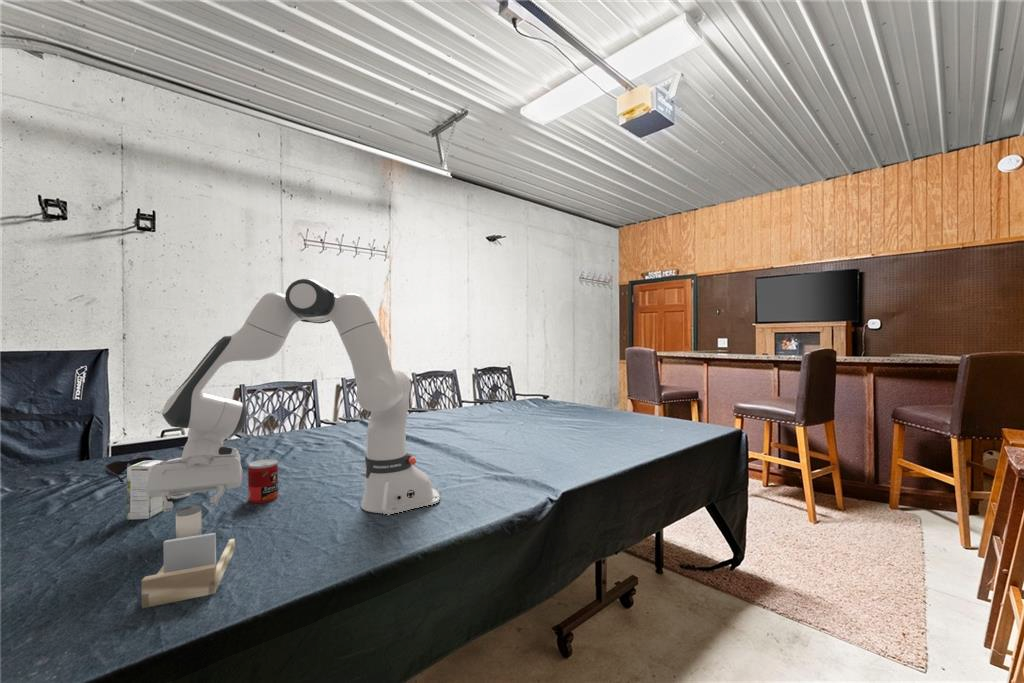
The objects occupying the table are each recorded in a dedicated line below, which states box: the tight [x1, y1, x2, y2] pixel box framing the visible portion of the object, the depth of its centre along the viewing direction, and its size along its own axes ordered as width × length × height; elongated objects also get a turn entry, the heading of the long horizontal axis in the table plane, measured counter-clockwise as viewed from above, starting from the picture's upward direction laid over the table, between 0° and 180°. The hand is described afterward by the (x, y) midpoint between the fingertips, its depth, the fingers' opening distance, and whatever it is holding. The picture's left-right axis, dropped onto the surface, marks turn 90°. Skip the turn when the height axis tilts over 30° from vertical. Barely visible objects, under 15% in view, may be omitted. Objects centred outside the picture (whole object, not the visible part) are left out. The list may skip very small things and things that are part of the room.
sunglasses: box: [104, 456, 156, 483], centre depth 151 cm, size 14×16×5 cm
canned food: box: [247, 458, 279, 504], centre depth 129 cm, size 8×8×11 cm
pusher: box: [162, 532, 217, 573], centre depth 85 cm, size 1×8×8 cm, turn 113°
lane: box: [141, 538, 236, 609], centre depth 87 cm, size 18×11×5 cm, turn 23°
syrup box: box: [126, 459, 164, 520], centre depth 117 cm, size 6×6×14 cm
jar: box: [175, 505, 203, 539], centre depth 103 cm, size 5×5×7 cm
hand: (190, 507), depth 105 cm, fingers open, 8 cm apart
